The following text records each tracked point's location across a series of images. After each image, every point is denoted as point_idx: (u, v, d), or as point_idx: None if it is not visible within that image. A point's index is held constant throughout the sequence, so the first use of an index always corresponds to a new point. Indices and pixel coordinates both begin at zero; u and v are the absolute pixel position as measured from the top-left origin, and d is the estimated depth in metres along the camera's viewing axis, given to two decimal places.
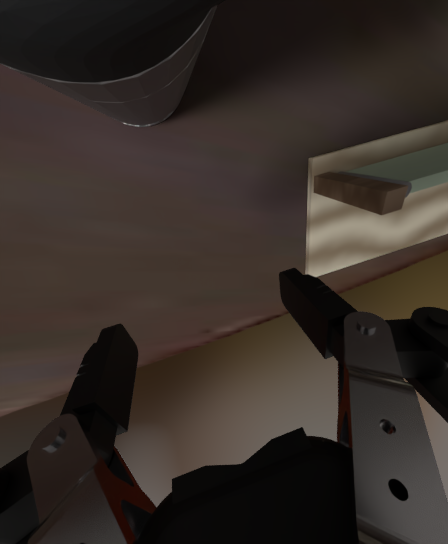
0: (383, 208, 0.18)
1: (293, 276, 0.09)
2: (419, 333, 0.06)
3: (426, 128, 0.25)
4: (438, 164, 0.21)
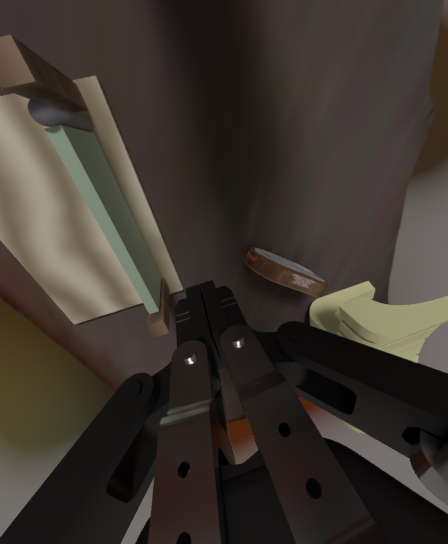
0: None
1: (207, 288, 0.10)
2: (289, 354, 0.06)
3: (155, 225, 0.28)
4: (106, 197, 0.20)
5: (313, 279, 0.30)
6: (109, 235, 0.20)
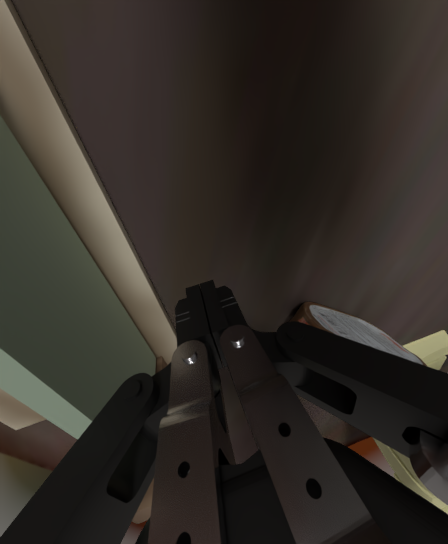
0: None
1: (206, 288, 0.10)
2: (289, 355, 0.06)
3: (145, 282, 0.16)
4: (0, 274, 0.07)
5: None
6: (6, 380, 0.07)
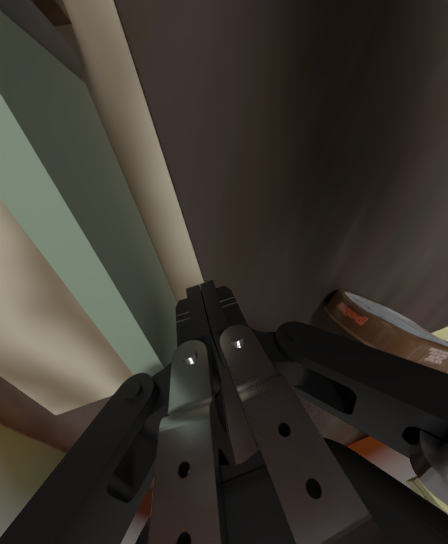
0: None
1: (206, 288, 0.10)
2: (289, 354, 0.06)
3: (196, 265, 0.16)
4: (114, 238, 0.07)
5: None
6: (120, 339, 0.07)
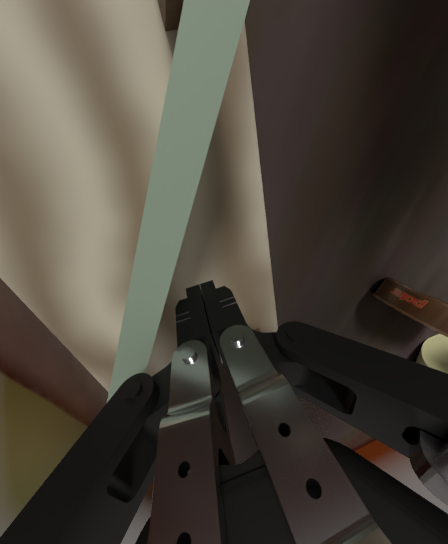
0: None
1: (206, 288, 0.10)
2: (289, 355, 0.06)
3: (267, 251, 0.17)
4: None
5: None
6: (137, 310, 0.07)
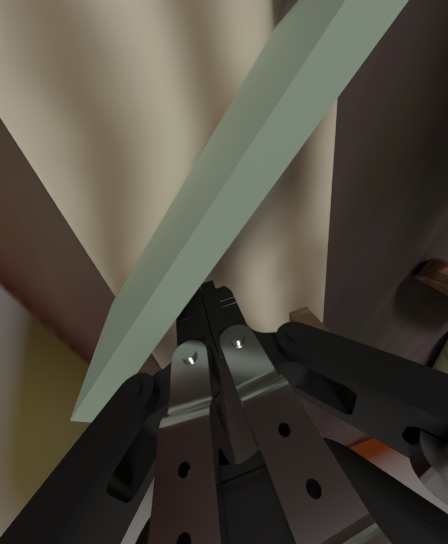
0: None
1: (206, 288, 0.10)
2: (289, 355, 0.06)
3: (327, 226, 0.17)
4: None
5: None
6: (218, 219, 0.06)
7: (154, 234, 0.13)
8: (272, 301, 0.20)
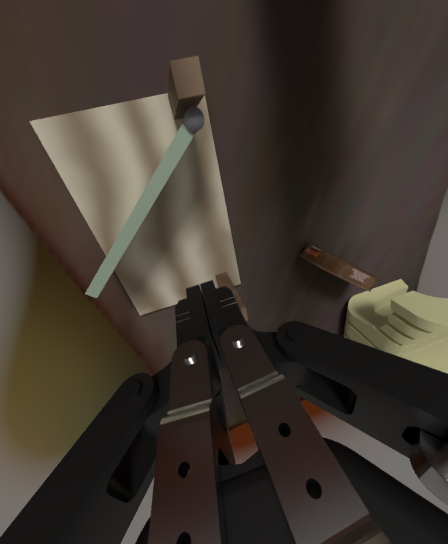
0: (178, 61, 0.14)
1: (207, 288, 0.10)
2: (289, 354, 0.06)
3: (228, 221, 0.31)
4: None
5: (368, 274, 0.33)
6: (135, 214, 0.19)
7: None
8: (202, 266, 0.33)
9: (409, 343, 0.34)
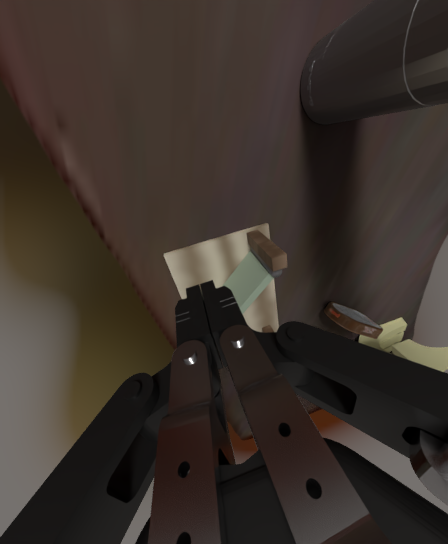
0: (276, 257, 0.26)
1: (207, 288, 0.10)
2: (289, 355, 0.06)
3: (274, 294, 0.43)
4: None
5: (375, 328, 0.45)
6: None
7: None
8: (253, 323, 0.45)
9: None
